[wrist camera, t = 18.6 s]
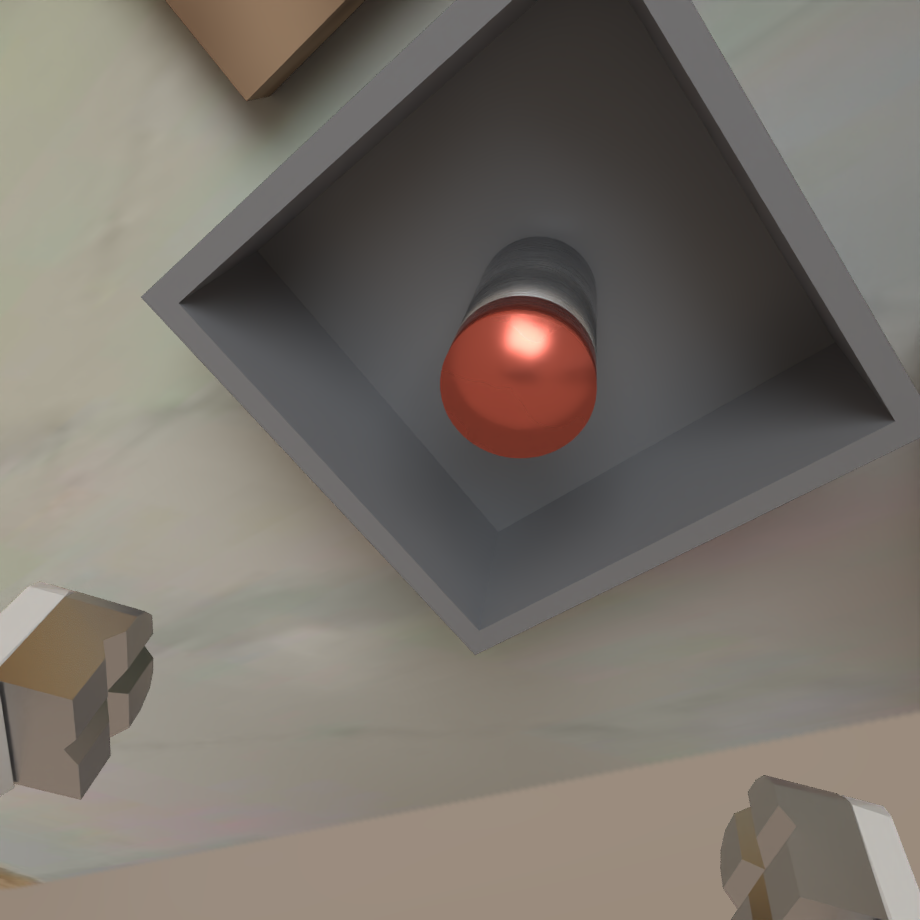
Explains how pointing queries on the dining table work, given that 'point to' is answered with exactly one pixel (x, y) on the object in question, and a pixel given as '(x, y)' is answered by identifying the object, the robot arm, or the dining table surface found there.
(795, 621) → the dining table surface
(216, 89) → the dining table surface
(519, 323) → the red and grey cylinder
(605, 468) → the bin
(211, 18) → the socket block
